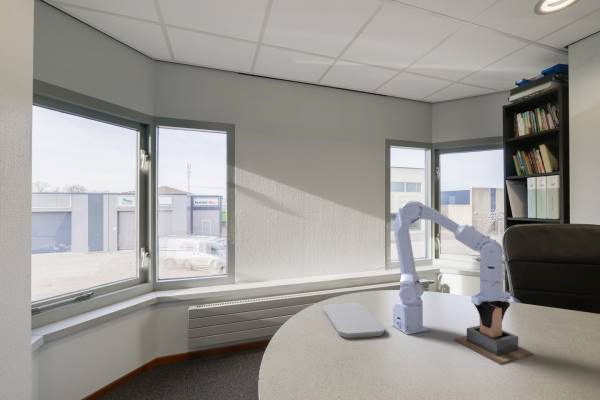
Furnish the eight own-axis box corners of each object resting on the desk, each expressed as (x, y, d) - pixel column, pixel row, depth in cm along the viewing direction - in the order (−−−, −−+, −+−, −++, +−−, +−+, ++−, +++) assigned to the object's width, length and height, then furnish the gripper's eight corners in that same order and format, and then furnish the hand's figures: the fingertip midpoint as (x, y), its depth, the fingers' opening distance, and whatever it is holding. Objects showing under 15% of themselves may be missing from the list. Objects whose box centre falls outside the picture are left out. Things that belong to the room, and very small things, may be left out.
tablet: (359, 308, 116) (359, 302, 116) (388, 337, 90) (388, 330, 90) (321, 310, 113) (321, 304, 113) (340, 341, 87) (340, 333, 87)
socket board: (500, 364, 74) (499, 347, 74) (454, 340, 87) (454, 326, 87) (533, 354, 79) (532, 338, 79) (485, 333, 92) (484, 319, 92)
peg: (492, 337, 81) (492, 310, 81) (479, 331, 85) (479, 305, 85) (502, 335, 82) (501, 308, 83) (488, 329, 86) (488, 303, 86)
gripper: (487, 286, 77) (488, 335, 77) (521, 281, 82) (521, 327, 82) (464, 279, 84) (465, 324, 84) (497, 275, 89) (497, 318, 89)
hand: (491, 325), depth 83 cm, fingers closed on peg, 4 cm apart
